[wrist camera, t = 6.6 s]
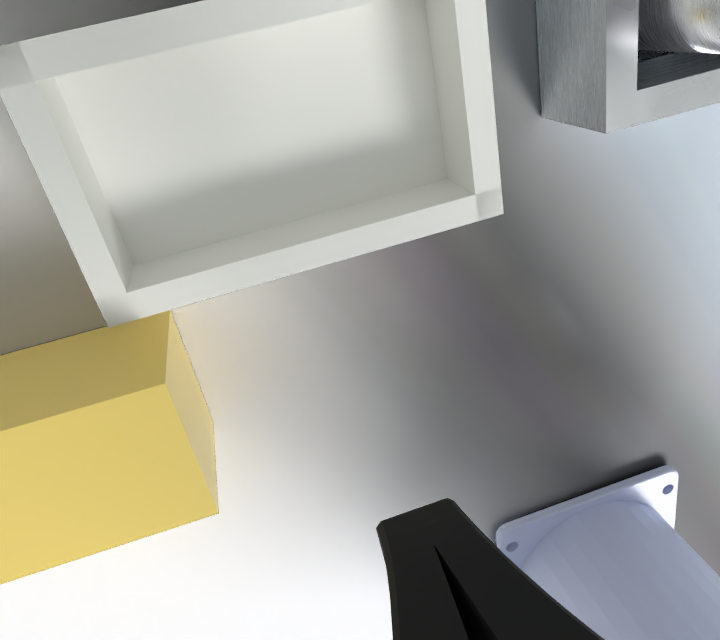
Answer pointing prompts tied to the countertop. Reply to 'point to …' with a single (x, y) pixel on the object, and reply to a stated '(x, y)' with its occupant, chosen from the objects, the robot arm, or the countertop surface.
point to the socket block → (613, 68)
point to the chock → (100, 444)
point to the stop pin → (679, 26)
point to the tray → (254, 139)
